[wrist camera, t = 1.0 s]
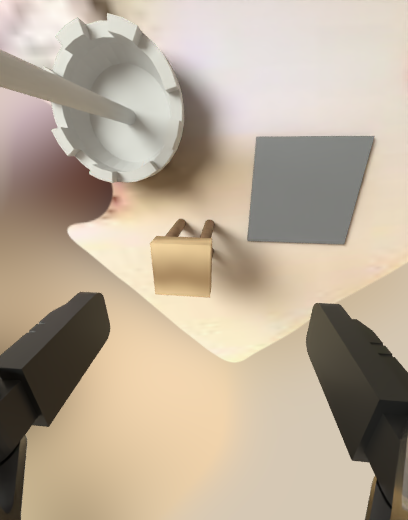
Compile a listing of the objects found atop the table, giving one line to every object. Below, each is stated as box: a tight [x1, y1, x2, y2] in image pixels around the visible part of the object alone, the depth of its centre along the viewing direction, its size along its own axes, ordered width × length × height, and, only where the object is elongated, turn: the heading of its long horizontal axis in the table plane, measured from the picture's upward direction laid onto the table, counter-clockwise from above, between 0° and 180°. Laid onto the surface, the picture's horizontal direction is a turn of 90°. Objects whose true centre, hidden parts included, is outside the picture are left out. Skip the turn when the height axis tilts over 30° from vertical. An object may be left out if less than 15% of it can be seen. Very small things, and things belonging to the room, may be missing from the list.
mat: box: [247, 136, 374, 244], centre depth 27 cm, size 12×12×1 cm
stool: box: [150, 219, 214, 298], centre depth 26 cm, size 6×6×10 cm
